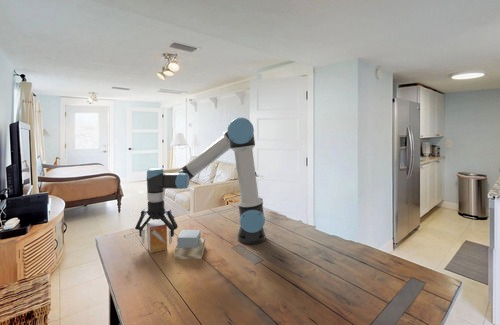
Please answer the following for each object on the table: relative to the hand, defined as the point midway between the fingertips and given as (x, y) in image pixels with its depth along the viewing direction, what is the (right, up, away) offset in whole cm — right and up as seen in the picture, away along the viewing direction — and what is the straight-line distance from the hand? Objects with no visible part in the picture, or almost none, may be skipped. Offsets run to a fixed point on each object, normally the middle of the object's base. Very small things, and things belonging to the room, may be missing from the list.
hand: (157, 242), depth 126 cm
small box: (0, -3, 0) cm, 3 cm away
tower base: (+17, -4, -3) cm, 18 cm away
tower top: (+17, +1, -4) cm, 17 cm away
